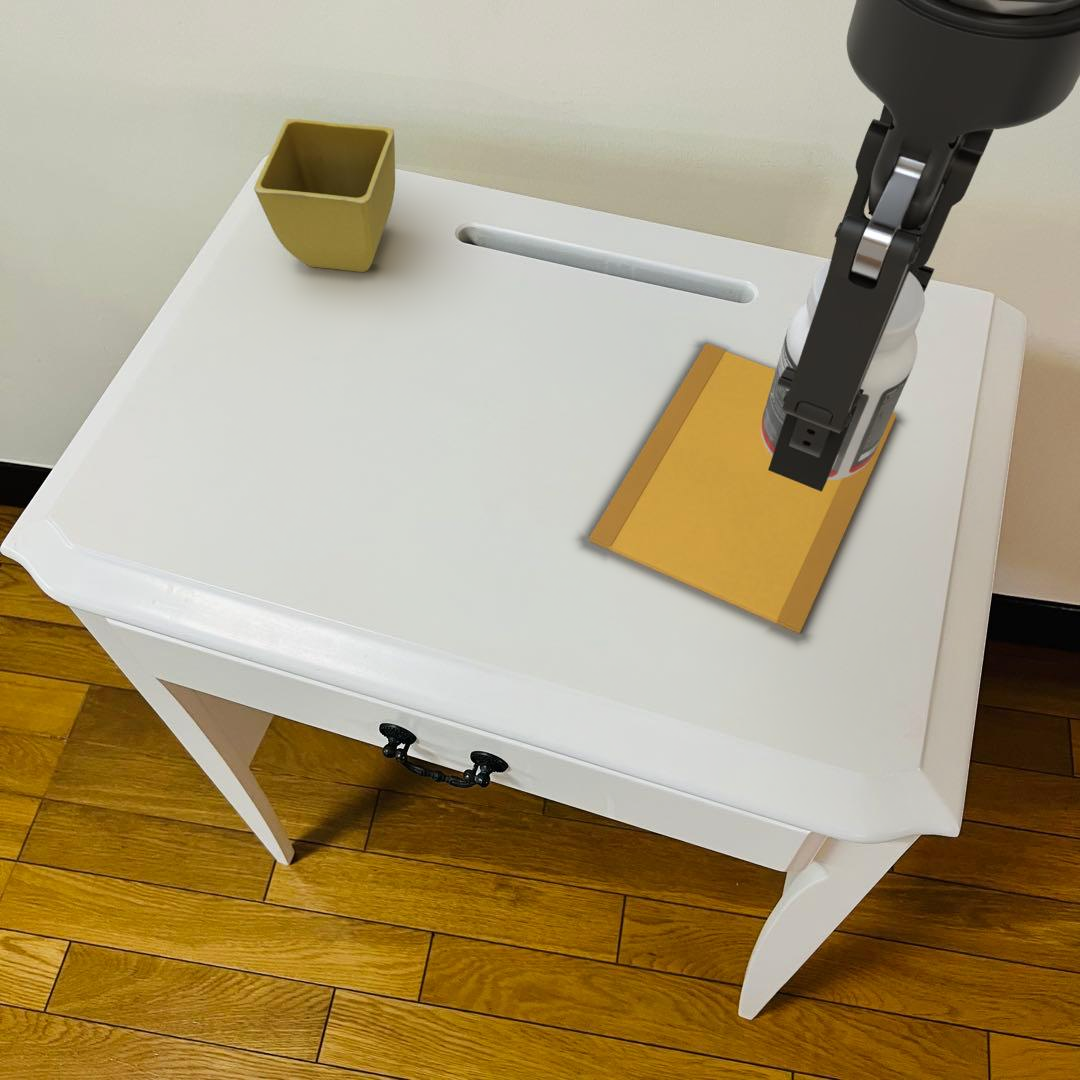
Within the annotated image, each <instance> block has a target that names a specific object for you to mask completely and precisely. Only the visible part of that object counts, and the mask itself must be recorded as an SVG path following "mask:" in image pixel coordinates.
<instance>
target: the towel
mask: <svg viewBox="0 0 1080 1080" xmlns="http://www.w3.org/2000/svg"><path fill="white" fill-rule="evenodd" d="M775 372H776V369H774V368H772V367H769V366H766V365H763V364H761V363H758V362H756V361H754V360H753V361H752V360H751V359H749V358H748V359H747V358H745V357H742V356H739V355H737V354H734V353H731V352H729V351H726V350H725V349H724V348H721V347H718V346H715V345H713V344H710V343H705V345H704V346H703V347H702V350H701V351H700V353H699V355H698V356H697V358H696V360H695V361H694V362H693V365H692V366H691V367H690V369H689V371H688V373H687V375H686V376H685V378H684V379H683V381H682V383H681V384H680V386H679V387H678V390H677V391H676V393H675V394H674V396H673V398H672V399H671V401H670V403H669V405H668V406H667V408H666V409H665V411H664V413H663V414H662V415H661V418H660V419H659V421H658V422H657V424H656V426H655V427H654V429H653V431H652V433H651V434H650V435H649V438H648V439H647V441H646V443H645V444H644V446H643V447H642V449H641V451H640V453H639V454H638V456H637V457H636V459H635V460H634V462H633V464H632V466H631V467H630V469H629V471H628V472H627V474H626V476H625V477H624V479H623V481H622V482H621V484H620V486H618V489H617V490H616V492H615V494H614V496H613V497H612V499H611V500H610V502H609V503H608V505H607V507H606V508H605V510H604V512H603V514H602V515H601V517H600V518H599V520H598V521H597V524H595V527H594V528H593V530H592V532H591V533H590V535H589V542H591V543H593V544H595V545H598V546H600V547H602V548H605V549H606V550H608V551H611V552H613V553H616V554H618V555H620V556H623V557H624V558H627V559H629V560H631V561H634V562H636V563H637V564H638V563H639V564H641V565H642V566H645V567H647V568H649V569H652V570H654V571H656V572H659V573H661V574H663V575H665V576H668V577H670V578H672V579H675V580H677V581H679V582H681V583H684V584H686V585H688V586H691V587H692V588H694V589H697V590H700V591H702V592H704V593H707V594H708V595H711V596H712V597H715V598H718V599H720V600H721V601H724V602H727V603H729V604H731V605H733V606H736V607H738V608H740V609H742V610H744V611H747V612H749V613H752V614H753V615H756V616H758V617H760V618H763V619H765V620H767V621H769V622H772V623H774V624H776V625H779V626H781V627H783V628H785V629H787V630H790V631H792V632H794V633H797V634H801V631H802V629H803V628H804V626H805V623H806V620H807V619H808V616H809V614H810V611H811V609H812V607H813V605H814V603H815V600H816V598H817V596H818V594H819V591H820V589H821V587H822V584H823V582H824V580H825V578H826V575H827V573H828V571H829V568H830V567H831V564H832V562H833V560H834V557H835V556H836V553H837V551H838V548H839V546H840V544H841V542H842V539H843V537H844V535H845V533H846V530H847V528H848V526H849V524H850V521H851V520H852V517H853V515H854V513H855V510H856V508H857V506H858V504H859V501H860V499H861V497H862V494H863V492H864V491H865V488H866V486H867V483H868V481H869V478H870V477H871V474H872V472H873V470H874V467H875V465H876V463H877V461H878V459H879V457H880V454H881V452H882V449H883V447H884V446H885V443H886V441H887V439H888V436H889V434H890V432H891V429H892V427H893V425H894V422H895V420H896V418H897V416H898V415H897V414H896V413H894V412H893V413H892V415H891V417H890V420H889V422H888V424H887V426H886V429H885V431H884V433H883V436H882V438H881V440H880V442H879V444H878V447H877V449H876V451H875V453H874V455H873V457H872V458H871V460H870V461H869V462H868V464H867V465H866V466H865V467H863V468H862V469H861V470H860V471H858V472H857V473H855V474H853V475H851V476H848V477H845V478H842V479H837V480H827V482H826V484H825V486H824V488H823V490H822V492H821V491H818V490H816V489H814V488H811V487H809V486H806V485H804V484H801V483H799V482H796V481H794V480H791V479H789V478H786V477H784V476H781V475H779V474H776V473H774V472H771V471H769V470H768V469H769V466H770V463H771V460H772V456H771V454H770V453H769V452H768V450H767V448H766V446H765V444H764V441H763V438H762V432H761V423H762V417H763V413H764V410H765V407H766V403H767V399H768V396H769V393H770V389H771V386H772V382H773V379H774V375H775Z"/></svg>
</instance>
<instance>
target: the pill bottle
mask: <svg viewBox="0 0 1080 1080" xmlns="http://www.w3.org/2000/svg"><path fill="white" fill-rule="evenodd" d="M830 263H831V260H828V262H826V263H825V264H824V265H822V267H820V269H819V270H818V271H817V272H816V274H815V276H814V279H813V282H812V284H811V287H810V289H809V292H808V294H807V297H806V302H805V303H803V305H802V306H800V307H799V308H798V309H797V311H796V312H795V313H794V315H793V316H792V318H791V320H790V322H789V324H788V328H787V331H786V333H785V336H784V341H783V344H782V346H781V350H780V355H779V358H778V361H777V365H776V369H775V370H776V372H775V375H774V379H773V382H772V386H771V389H770V393H769V396H768V399H767V403H766V407H765V410H764V413H763V417H762V423H761V432H762V438H763V441H764V444H765V446H766V448H767V450H768V452H769V453H770V454H771V456H773V453H774V450H775V447H776V444H777V441H778V438H779V435H780V432H781V429H782V426H783V423H784V420H785V416H786V413H785V412H783V408H782V407H783V405H784V402H783V399H784V397H785V394H786V392H787V391H789V390H788V389H785V388H783V387H780V386H778V385H777V384H778V381H779V378H780V377H781V375H782V373H783V372H784V370H785V369H786V367H787V366H789V367H791V368H794V369H796V368H797V365H798V362H799V359H800V356H801V353H802V350H803V347H804V344H805V341H806V338H807V335H808V332H809V329H810V326H811V323H812V320H813V317H814V314H815V311H816V308H817V305H818V302H819V298H820V295H821V292H822V289H823V286H824V283H825V280H826V277H827V274H828V271H829V267H830ZM925 306H926V296H925V292H924V291H923V289H922V286H921V285H920V283H919V281H918V280H917V278H916V277H915V276H914V275H913V274H912V273H911V272H910V271H909V274H908V276H907V278H906V281H905V283H904V286H903V288H902V290H901V293H900V295H899V298H898V300H897V302H896V305H895V307H894V309H893V312H892V314H891V317H890V319H889V321H888V324H887V326H886V329H885V331H884V333H883V336H882V338H881V340H880V343H879V345H878V348H877V350H876V352H875V355H874V357H873V359H872V362H871V364H870V367H869V369H868V371H867V374H866V376H865V379H864V381H863V383H862V386H861V388H860V389H862V390H864V392H863V394H862V397H861V399H860V401H859V404H858V406H857V409H856V411H855V414H854V416H853V418H852V421H851V423H850V426H849V428H848V431H847V433H846V435H845V438H844V440H843V443H842V445H841V448H840V450H839V453H838V455H837V457H836V460H835V462H834V465H833V467H832V470H831V472H830V474H829V477H828V479H827V480H837V479H842V478H845V477H848V476H851V475H853V474H855V473H857V472H858V471H860V470H861V469H862V468H863V467H865V466H866V465H867V464H868V462H869V461H870V460H871V458H872V457H873V455H874V453H875V451H876V449H877V447H878V444H879V442H880V440H881V438H882V436H883V433H884V431H885V429H886V426H887V424H888V422H889V420H890V417H891V415H892V413H894V411H895V409H896V406H897V403H898V401H899V399H900V398H901V395H902V392H903V390H904V388H905V386H906V383H907V382H908V379H909V377H910V374H911V373H912V370H913V368H914V366H915V362H916V359H917V354H918V339H917V335H916V329H917V328H918V326H919V324H920V323H919V322H920V321H921V318H922V315H923V313H924V310H925Z"/></svg>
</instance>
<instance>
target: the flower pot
mask: <svg viewBox="0 0 1080 1080" xmlns="http://www.w3.org/2000/svg"><path fill="white" fill-rule="evenodd" d="M395 145H396V144H395V131H394V128H393V127H388V126H376V125H362V124H351V123H349V124H347V123H346V124H345V123H337V122H327V121H320V120H311V119H302V118H287V119H285V120H284V122H283V123H282V125H281V127H280V130H279V132H278V134H277V137H276V139H275V141H274V143H273V145H272V148H271V150H270V152H269V154H268V156H267V158H266V160H265V163H264V165H263V167H262V169H261V170H260V172H259V175H258V177H257V179H256V182H255V184H254V187H253V191H254V192H255V194H256V196H257V199H258V201H259V203H260V205H261V208H262V210H263V212H264V214H265V217H266V219H267V221H268V223H269V225H270V227H271V229H272V231H273V233H274V235H275V237H276V238H277V239H278V242H280V244H281V245H282V247H284V249H285V250H286V251H287V252H288V253H290V254H291V255H292V256H293V257H294V258H296V259H297V260H299V261H300V262H302V263H303V264H305V265H306V266H308V267H310V268H311V267H312V268H320V269H332V270H342V271H348V272H349V271H351V272H360V273H362V272H363V273H364V272H366V271H368V270H369V269H370V268H371V266H372V264H373V262H374V259H375V256H376V254H377V250H378V247H379V244H380V242H381V239H382V236H383V232H384V230H385V227H386V224H387V222H388V219H389V216H390V213H391V209H392V206H393V202H394V197H395V191H396V152H395V151H396V149H395V148H396V146H395Z"/></svg>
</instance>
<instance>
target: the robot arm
mask: <svg viewBox="0 0 1080 1080" xmlns="http://www.w3.org/2000/svg"><path fill="white" fill-rule="evenodd" d="M850 18H851V19H850V22H849V25H848V30H847V35H846V52H847V53H846V54H847V58H848V60H849V64H850V66H851V68H852V70H853V72H854V73H855V75H856V76H857V78H858V80H859V81H860V82H861V84H862V85H863V86H864V87H865V88H866V89H867V90H868V91H869V92H871V93H872V94H873V95H875V97H876V98H878V100H879V101H880V102H881V103H882V104H883V107H882V110H881V113H880V116H879V117H880V118H879V119H876V118H873V119H872V120H871V122H870V124H869V125H868V128H867V131H866V133H865V135H864V138H863V141H862V143H861V146H860V149H859V152H858V155H857V158H856V160H855V167H854V168H855V171H856V174H857V178H856V181H855V184H854V187H853V190H852V193H851V196H850V198H849V201H848V204H847V206H846V209H845V211H844V214H843V218H842V220H841V222H839V224H838V226H837V228H836V230H835V233H834V238H835V243H834V246H833V250H832V251H833V252H832V255H831V259H830V261H831V263H830V267H829V271H828V274H827V277H826V280H825V283H824V286H823V289H822V292H821V295H820V298H819V302H818V305H817V308H816V311H815V314H814V317H813V320H812V323H811V326H810V329H809V332H808V335H807V338H806V341H805V344H804V347H803V350H802V353H801V356H800V359H799V362H798V365H797V368H796V369H794V368H791V367H789V366H787V367H786V369H785V370H784V372H783V373H782V375H781V377H780V378H779V381H778V384H777V385H778V386H780V387H783V388H785V389H788V390H789V391H787V392H786V394H785V397H784V399H783V402H784V405H783V407H782V408H783V412H785V413H786V416H785V420H784V423H783V426H782V429H781V432H780V435H779V438H778V441H777V444H776V447H775V450H774V453H773V456H772V460H771V463H770V466H769V469H768V470H769V471H771V472H774V473H776V474H779V475H781V476H784V477H786V478H789V479H791V480H794V481H796V482H799V483H801V484H804V485H806V486H809V487H811V488H814V489H816V490H818V491H821V492H822V490H823V488H824V486H825V484H826V482H827V479H828V477H829V474H830V472H831V470H832V467H833V465H834V462H835V460H836V457H837V455H838V453H839V450H840V448H841V445H842V443H843V440H844V438H845V435H846V433H847V431H848V428H849V426H850V423H851V421H852V418H853V416H854V414H855V411H856V409H857V406H858V404H859V401H860V399H861V397H862V394H863V392H864V390H862V389H860V388H861V386H862V383H863V381H864V379H865V376H866V374H867V371H868V369H869V367H870V364H871V362H872V359H873V357H874V355H875V352H876V350H877V348H878V345H879V343H880V340H881V338H882V336H883V333H884V331H885V329H886V326H887V324H888V321H889V319H890V317H891V314H892V312H893V309H894V307H895V305H896V302H897V300H898V298H899V295H900V293H901V290H902V288H903V286H904V283H905V281H906V278H907V276H908V274H909V271H910V272H911V273H912V274H913V275H914V276H915V277H916V278H917V280H918V281H919V283H920V285H921V286H922V289H923V291H924V293H925V292H926V290H927V288H928V286H929V283H930V281H931V279H932V277H933V274H934V271H935V268H933V267H931V266H927V265H926V264H927V263H928V262H929V260H930V258H931V256H932V254H933V252H934V250H935V248H936V245H937V243H938V240H939V238H940V235H941V234H942V231H943V229H944V228H945V227H944V226H945V224H946V222H947V219H948V217H949V215H950V212H951V210H952V208H953V206H955V205H957V204H958V203H959V202H961V201H962V200H963V198H964V197H965V195H966V193H967V191H968V189H969V186H970V184H971V183H972V180H973V177H974V175H975V173H976V171H977V168H978V166H979V164H980V161H981V160H982V157H983V156H984V153H985V151H986V148H987V146H988V144H989V142H990V140H991V138H992V135H993V133H994V131H995V130H1005V129H1010V128H1015V127H1019V126H1023V125H1026V124H1029V123H1032V122H1034V121H1036V120H1039V119H1041V118H1043V117H1045V116H1047V115H1048V114H1050V113H1052V112H1053V111H1054V110H1056V109H1057V108H1058V107H1059V106H1060V105H1061V104H1063V102H1065V100H1066V99H1067V98H1068V97H1069V95H1070V94H1071V93H1072V91H1073V90H1074V88H1075V86H1076V84H1077V82H1078V80H1079V79H1080V0H855V3H854V7H853V11H852V15H851V17H850ZM866 205H867V208H868V215H870V216H871V218H869V217H868V216H866V214H865V208H866Z"/></svg>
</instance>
